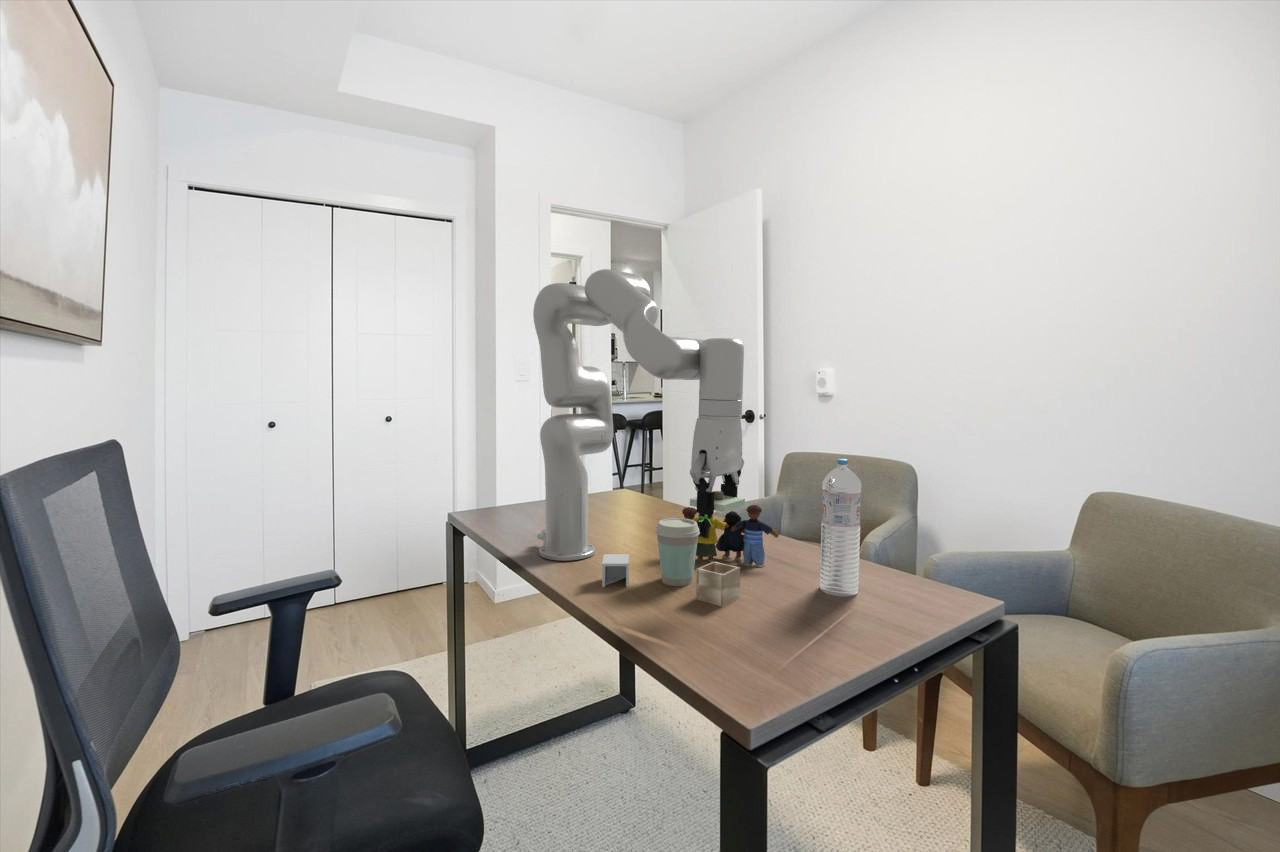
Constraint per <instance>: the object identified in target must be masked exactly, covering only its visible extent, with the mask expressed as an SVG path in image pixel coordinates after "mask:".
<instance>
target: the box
mask: <svg viewBox="0 0 1280 852" xmlns="http://www.w3.org/2000/svg"><path fill="white" fill-rule="evenodd" d="M695 580H696V587H695V589H696V590H695V591H696V594H695V595H696V597H695V599H696V600H698V601H701V602H704V603H709V604H712V605H716V606H719V607H722V608H723V607H725V606H728V605H730V604H731V603H733V602H735V601H737V600H738V599H740V598H741V567H740V566H737V565H736V566H735V565H732V564H731V565H730V564H727V563H723V562H722V563H721V562H718V561H715V560H714V561H710V563H707V564H705V565H701V566H700V567H698V568H696V579H695Z"/></svg>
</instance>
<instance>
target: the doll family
mask: <svg viewBox="0 0 1280 852" xmlns="http://www.w3.org/2000/svg"><path fill="white" fill-rule="evenodd" d="M745 510H746V512H747V515H748V517H749V518H750V519H744V520H742V517H741V516H740V515H739V513H737V512H736V511H734V510H730V511H728V512H727V513H726V514H725V515H724V518H723V521H722V520H720V519H718V518H714V514H713V515H706V514H701V513H697V508H696V507H695V508H694V507H693V506H687V507H683V509H682V510H681V511H682V514H683V519H690V520H693V521H696V522H697V525H698V528H699V532H700V534H699V535H698V540H697V549H696V556H697V560H698V561H699V562H700V561H703V560H705V558H707V560H708V562H713V561H714V562H715V559H716V558H714V557H717V556H718V554H717V551H719V552H724V553H723V554H722V558H723V559H725V560H731V559H732V554H731V552H733V553H736V554H735V557H734V561H736V562H737V561H738V562H740V561H743V565H744V566H747V567H752V565H753V563H754V564H755V565H754V566H755V567H756V568H761V569H762V568H763V567H765V566H766V563H765V558H766V557H765V556H766V554H765V548H764V540H763V539H764V538H763V533H765V534H766V535H772V536H773V538H779V536H780V534H779V532H777V531H775V530H774V528H773V527H772V526H771V525H768V523H767V524H766V523H764V522H763V521H760V520H759V517H760V514H761V513H762V512H763V510H762V508H761V506H759V505H758V504H751V505H749V506H747V508H746V509H745ZM697 514H698V515H697ZM696 515H697V516H698V517H696ZM717 529H718V530H721V532H722V531H723V533H722V534H721V535H720V536H719V538H718V537H717V533H716V530H717Z"/></svg>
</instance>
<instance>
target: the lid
mask: <svg viewBox="0 0 1280 852" xmlns="http://www.w3.org/2000/svg"><path fill="white" fill-rule="evenodd" d="M712 492H714V512H715V511H717V512H722V513H726V512H730V511H733V510H735V509H738V508H741V507H744V506H745V502H746V499H745V498H742V497H738V496H737V497H730V496H725V495H723V492H721V490H720V491H719V490H714V491H713V490H712ZM689 507H693V508H694V507H695V508H697V496H696V497H691V498H689Z"/></svg>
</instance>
